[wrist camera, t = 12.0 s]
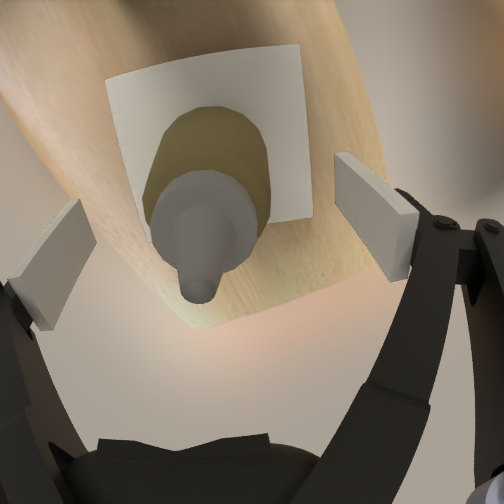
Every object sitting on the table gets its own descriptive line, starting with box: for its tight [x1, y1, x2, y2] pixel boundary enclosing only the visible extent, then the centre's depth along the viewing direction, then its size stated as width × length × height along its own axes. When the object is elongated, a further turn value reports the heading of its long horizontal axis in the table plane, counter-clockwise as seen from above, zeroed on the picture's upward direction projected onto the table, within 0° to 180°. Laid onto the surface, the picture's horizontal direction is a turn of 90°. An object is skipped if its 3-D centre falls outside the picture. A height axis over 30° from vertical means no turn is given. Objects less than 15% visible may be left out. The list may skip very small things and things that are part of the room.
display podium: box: [105, 44, 313, 243], centre depth 27 cm, size 16×16×5 cm
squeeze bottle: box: [142, 106, 271, 304], centre depth 18 cm, size 8×8×18 cm
